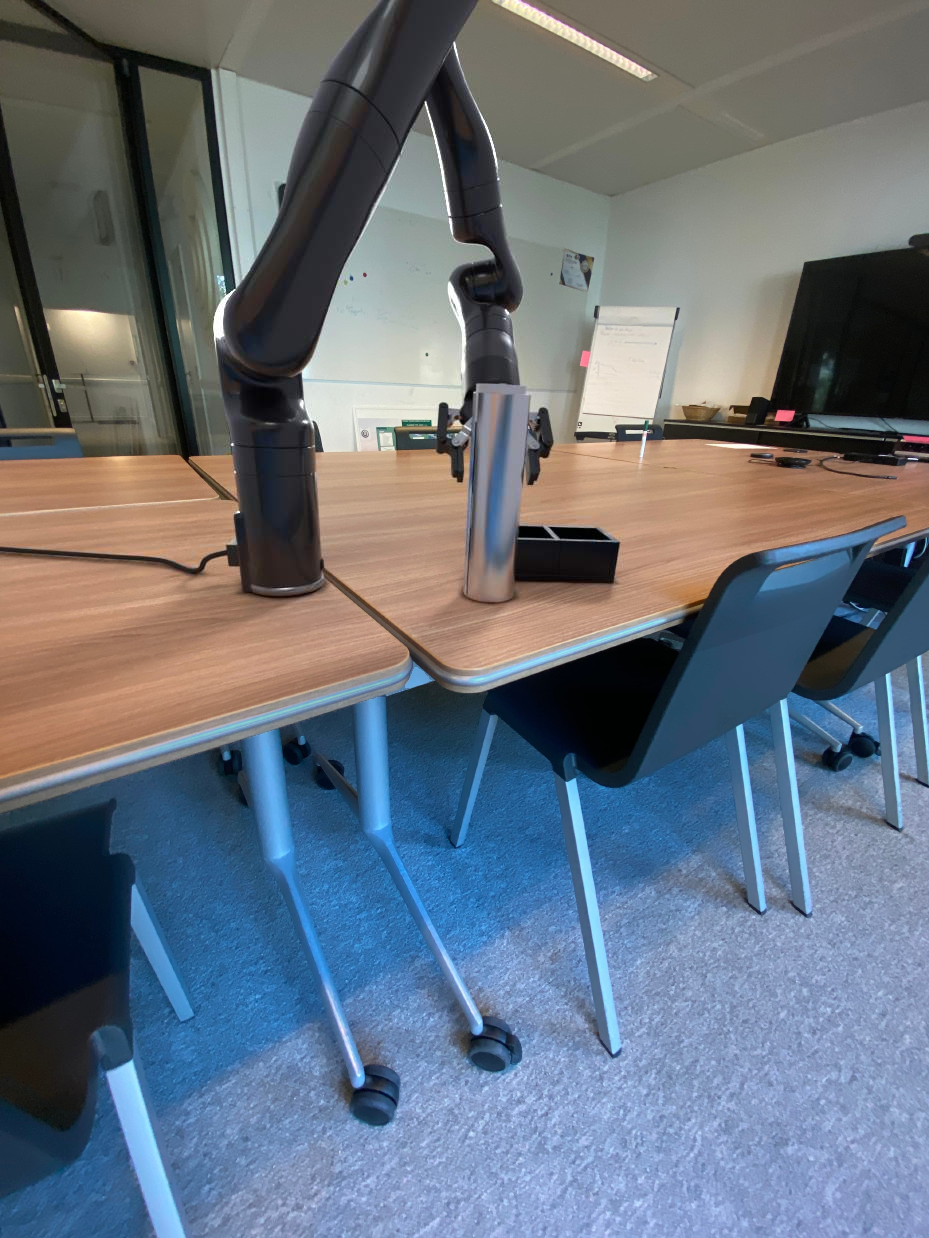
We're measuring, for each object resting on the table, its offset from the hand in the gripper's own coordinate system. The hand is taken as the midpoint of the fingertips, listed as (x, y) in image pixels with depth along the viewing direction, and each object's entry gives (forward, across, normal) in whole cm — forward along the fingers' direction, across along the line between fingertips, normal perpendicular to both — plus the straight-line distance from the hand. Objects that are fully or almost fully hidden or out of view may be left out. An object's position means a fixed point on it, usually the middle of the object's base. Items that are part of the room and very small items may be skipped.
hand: (496, 480), depth 63 cm
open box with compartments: (+3, +10, +18) cm, 20 cm away
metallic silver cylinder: (+10, 0, +11) cm, 15 cm away
